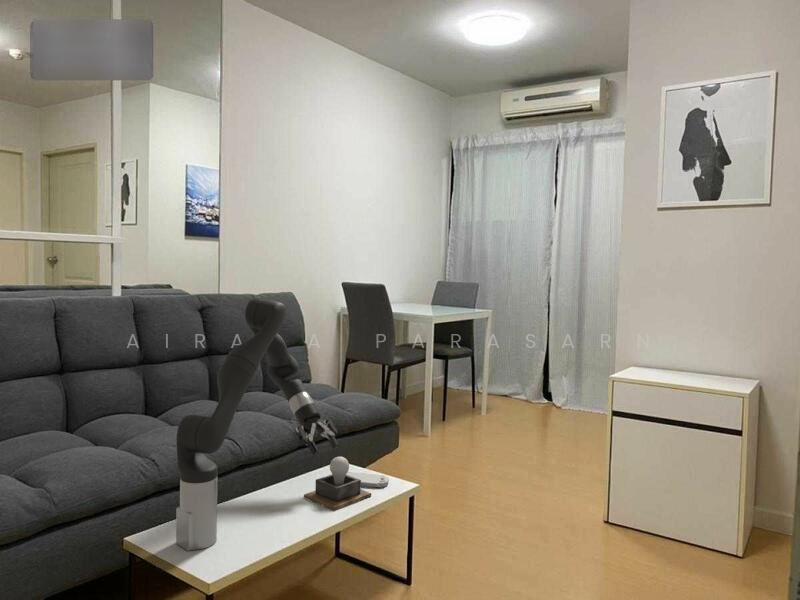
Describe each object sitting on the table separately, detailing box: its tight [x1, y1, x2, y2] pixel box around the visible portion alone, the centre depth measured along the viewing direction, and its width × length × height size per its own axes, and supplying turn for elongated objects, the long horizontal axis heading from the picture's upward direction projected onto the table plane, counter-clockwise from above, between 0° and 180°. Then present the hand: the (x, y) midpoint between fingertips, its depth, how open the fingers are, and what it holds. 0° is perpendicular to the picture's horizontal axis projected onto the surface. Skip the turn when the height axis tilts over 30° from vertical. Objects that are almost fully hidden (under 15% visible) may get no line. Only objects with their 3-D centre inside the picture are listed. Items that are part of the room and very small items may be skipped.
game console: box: [346, 471, 390, 489], centre depth 206 cm, size 18×2×8 cm
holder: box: [303, 474, 372, 511], centre depth 192 cm, size 16×14×6 cm
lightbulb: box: [329, 456, 350, 486], centre depth 193 cm, size 6×6×11 cm
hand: (326, 450), depth 196 cm, fingers open, 8 cm apart
